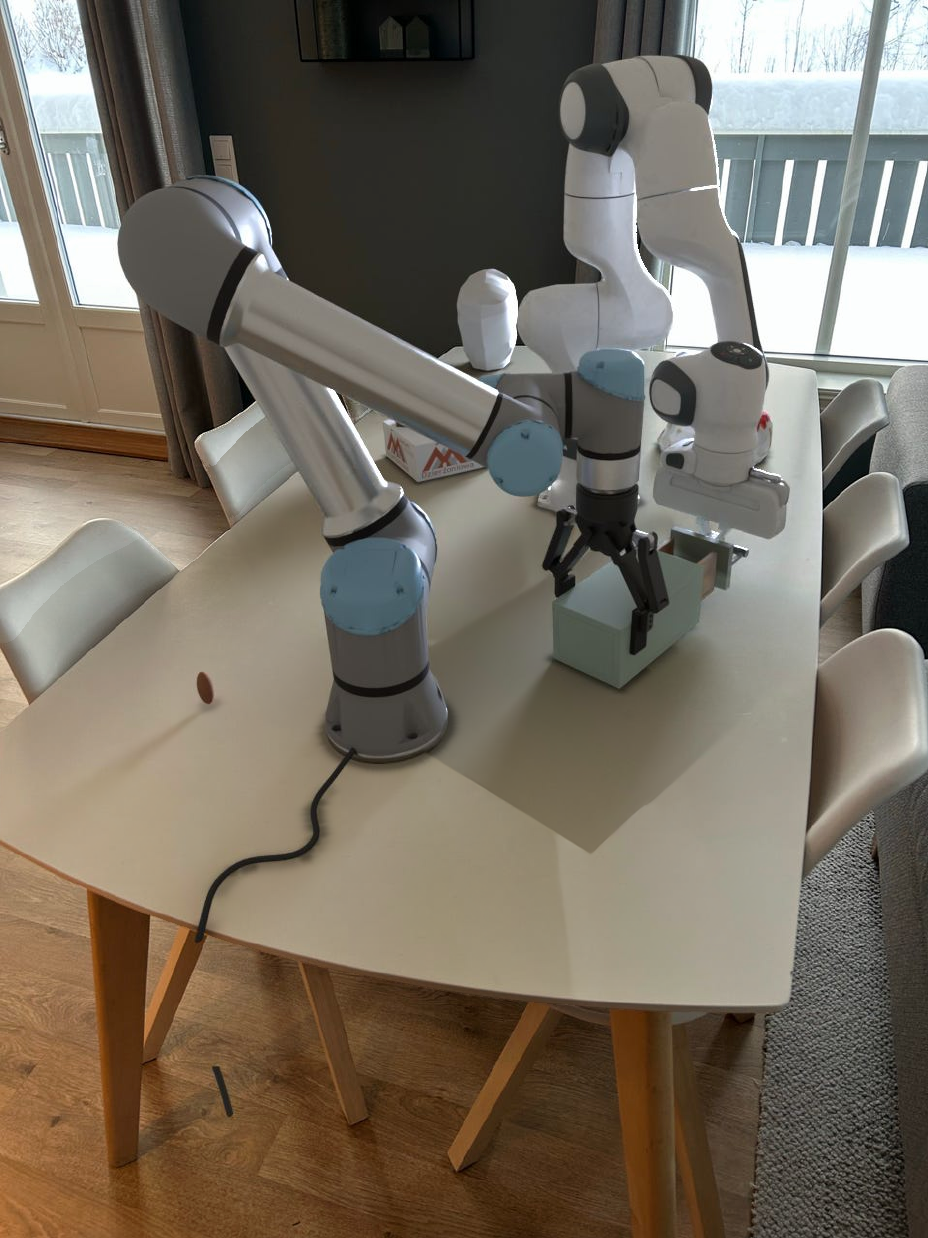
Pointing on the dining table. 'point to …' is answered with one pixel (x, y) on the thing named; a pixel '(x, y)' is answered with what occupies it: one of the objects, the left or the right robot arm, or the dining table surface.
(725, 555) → the drawer
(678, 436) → the cake
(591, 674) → the cabinet
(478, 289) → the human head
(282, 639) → the dining table surface
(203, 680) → the brown oval piece
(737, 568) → the dining table surface
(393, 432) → the white red logo box
